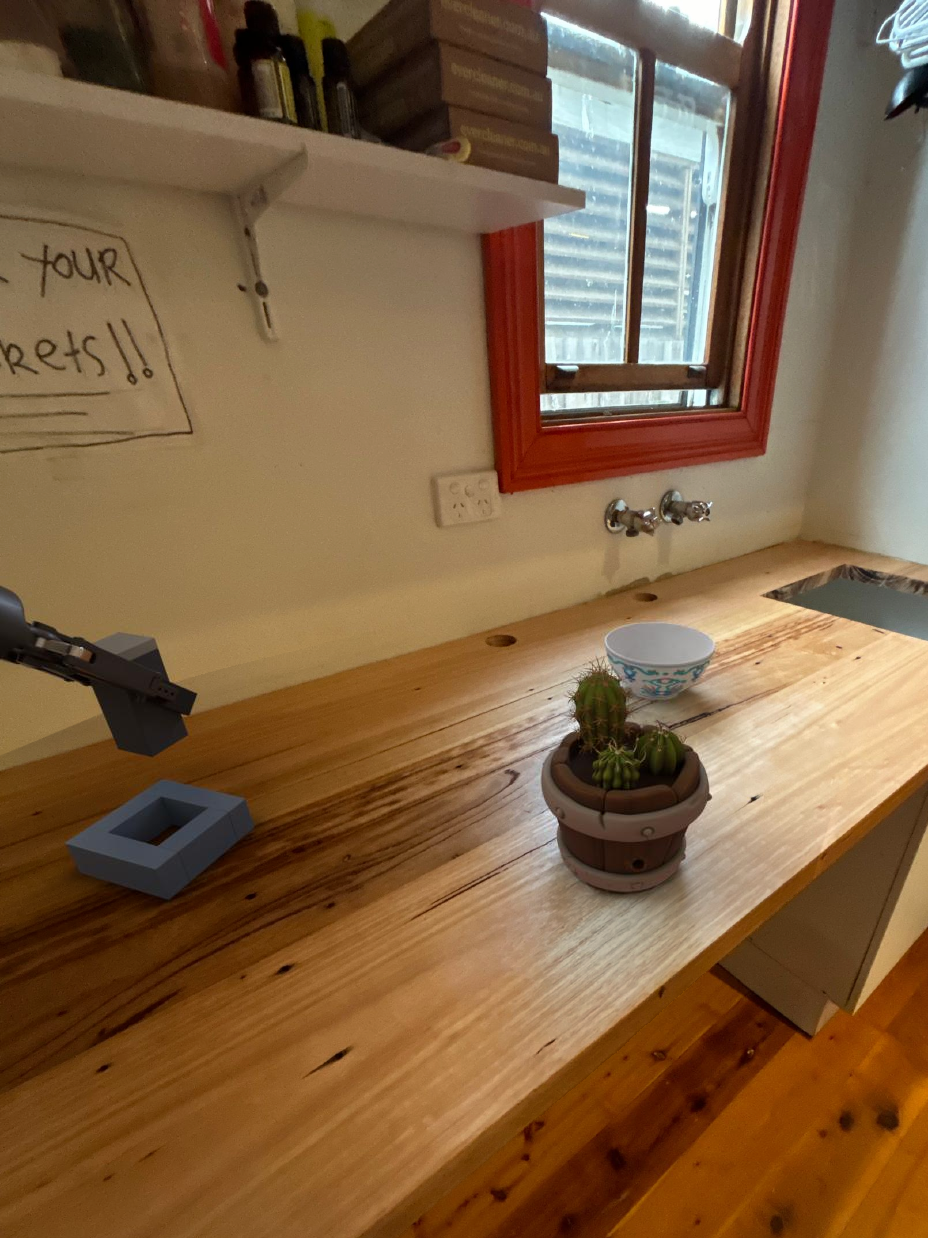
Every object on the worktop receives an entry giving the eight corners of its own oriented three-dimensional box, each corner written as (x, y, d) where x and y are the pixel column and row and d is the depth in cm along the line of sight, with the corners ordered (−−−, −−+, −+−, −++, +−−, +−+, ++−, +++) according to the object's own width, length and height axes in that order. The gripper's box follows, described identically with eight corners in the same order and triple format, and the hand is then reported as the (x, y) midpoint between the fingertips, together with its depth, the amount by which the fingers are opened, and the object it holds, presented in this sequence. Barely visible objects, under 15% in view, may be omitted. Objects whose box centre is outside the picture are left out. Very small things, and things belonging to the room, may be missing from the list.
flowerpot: (732, 872, 59) (767, 678, 49) (600, 944, 52) (608, 734, 42) (633, 795, 70) (645, 622, 60) (512, 846, 63) (501, 660, 53)
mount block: (170, 902, 57) (155, 869, 55) (81, 875, 60) (64, 842, 58) (255, 829, 66) (245, 798, 63) (174, 809, 69) (162, 778, 67)
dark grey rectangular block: (152, 757, 69) (112, 655, 63) (117, 749, 71) (75, 649, 64) (188, 735, 73) (154, 637, 67) (155, 728, 75) (119, 631, 68)
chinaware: (697, 725, 83) (704, 671, 79) (588, 705, 88) (590, 654, 84) (716, 678, 95) (723, 629, 91) (620, 663, 100) (622, 616, 96)
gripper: (-151, 639, 53) (100, 718, 75) (1, 668, 48) (223, 744, 70) (-111, 558, 55) (124, 659, 77) (40, 579, 50) (245, 681, 71)
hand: (171, 700), depth 73 cm, fingers closed on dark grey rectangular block, 5 cm apart
